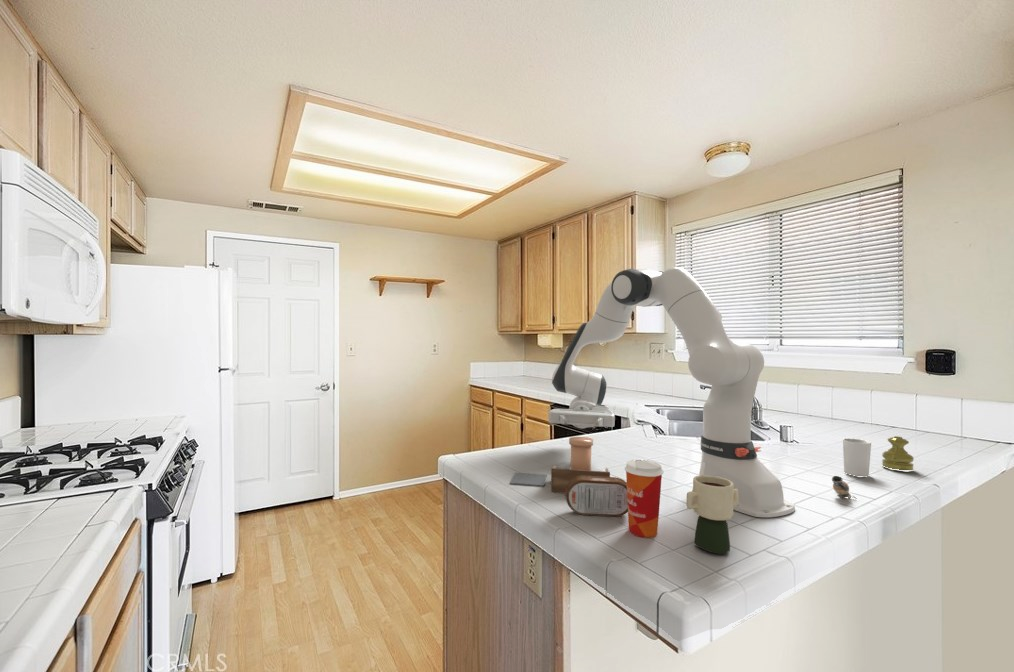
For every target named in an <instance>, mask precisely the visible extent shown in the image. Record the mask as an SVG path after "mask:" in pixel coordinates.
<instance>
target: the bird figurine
mask: <svg viewBox="0 0 1014 672" xmlns="http://www.w3.org/2000/svg"><path fill="white" fill-rule="evenodd" d="M831 481H832V483H833V484H832V488H833V490H834V491H835V492H834V493H835V494H836V495H837V496H838V495H840V496H842V497H841V498H843V497H848V498H851V497H854V498H855V500H856V499H858V498H857V497H856V496H854V495H851V493H849V491H850V486H849V484H848V483H847V482H846V481H843V478H842V477H841V476H839V475H838V476H837V475H834V476H832V478H831ZM840 496H839V497H840Z"/></svg>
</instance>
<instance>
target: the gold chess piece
mask: <svg viewBox="0 0 1014 672" xmlns="http://www.w3.org/2000/svg"><path fill="white" fill-rule="evenodd" d="M887 442H889V443H890V444H891V448H890V447H889V449H887V450H886V451H883V452H882V454H881V456H882V457H883V458H882V460H881V461H882V463H881V464H882V465H883V466H885V467H888V468H892V469H899V470H913V471H914V463H913V462H914V459H915V458H914V456H913V455H912V454H910V453H909V452H908V451H907V450H906V449H905V446H906V445H909V443H910V441H908V440H907V439H906V438H903V437H902V436H897V435H894V436H893V437H890V438H889V437H888V438H887ZM882 465H881V466H882ZM883 466H882V467H883Z"/></svg>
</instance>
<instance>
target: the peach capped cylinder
mask: <svg viewBox="0 0 1014 672" xmlns="http://www.w3.org/2000/svg"><path fill="white" fill-rule="evenodd" d="M568 439H569V440H568V441H569V445H570V469H574V470H589V471H592V446H594V439H593V438H591V437H587V436H573V437H572V436H571V437H569V438H568Z"/></svg>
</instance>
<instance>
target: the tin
mask: <svg viewBox="0 0 1014 672" xmlns="http://www.w3.org/2000/svg"><path fill="white" fill-rule="evenodd" d="M564 496H565V499H566V503H567V505H568V507H569V508H570V510H571V511H573V512H574V513H576V514H578V515H581V516H596V517H597V516H599V517H611V518H612V517H614V518H615V517H616V518H617V517H618V518H619V517H622V516H624V515H626V514H628V503H627V481H625V480H624V479H622V478H620V477H614V476H610V477H600V476H583V475H582V476H577V477H575V478H573V479H572V480H570V481H569V483H568V484H567V486H566V489H565V493H564Z"/></svg>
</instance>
